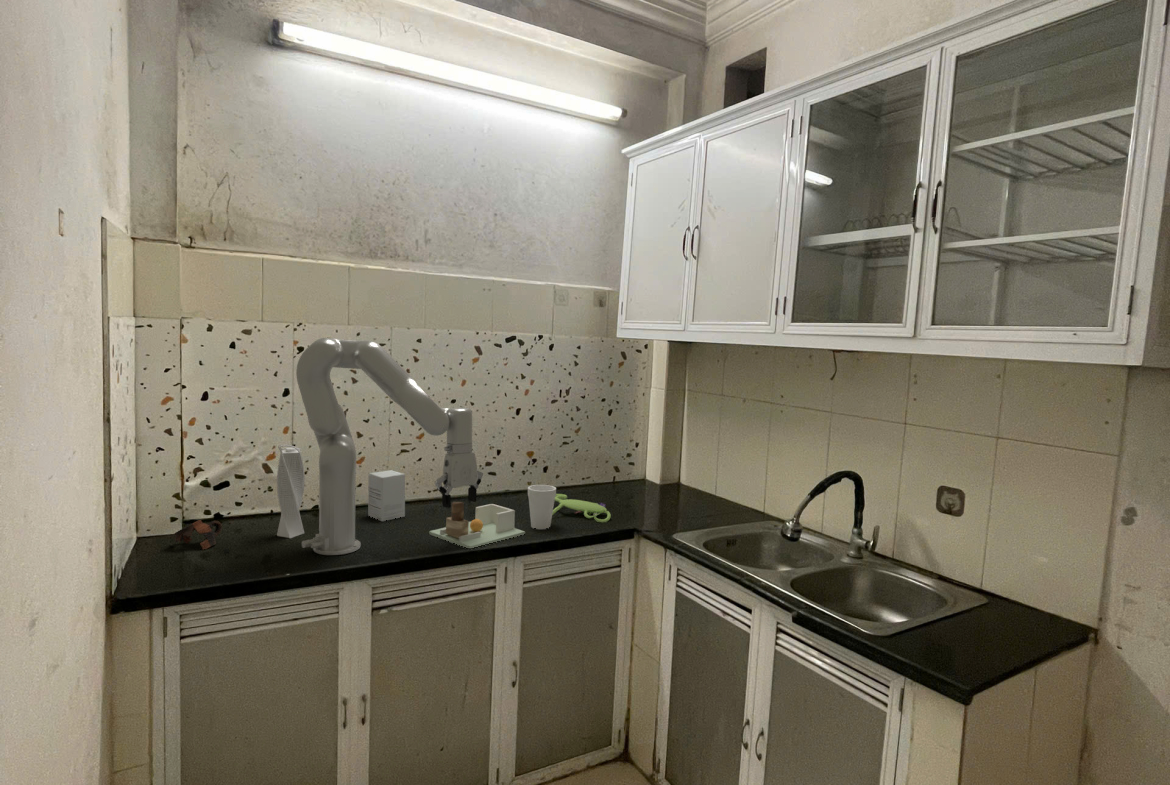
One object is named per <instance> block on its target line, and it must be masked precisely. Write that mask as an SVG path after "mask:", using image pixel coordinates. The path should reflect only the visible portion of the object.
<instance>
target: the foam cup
mask: <svg viewBox="0 0 1170 785" xmlns="http://www.w3.org/2000/svg"><path fill="white" fill-rule="evenodd" d="M556 494H557V487H555V486H553V485H548V484H534V485H530V486H527V496H528V505H529V516H530V527H531V528H532V529H534V528H536V529H535V530H547V529H546V528H548V529H549V527H550V528H551V524H552V519H553V515H552V513H553V510H554V505H555V502H556V501H555V496H556Z"/></svg>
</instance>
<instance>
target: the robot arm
mask: <svg viewBox="0 0 1170 785" xmlns="http://www.w3.org/2000/svg"><path fill="white" fill-rule="evenodd" d="M333 368H340V369H353V370H356V369H357V370H361V371H363V373H364V374H365V375H367V377H369V379H371V380H372V382H373V383H374V384H376V386H378V387H379V388H380V389H381V390H382V391H383V392H384V393H385V395H386V396H388V397H389V399H390V400H392V401H393V402H394V403H395V404H397V405H398V406H399V407H400V408H402V409H403V410H404V412H405V413H407V414H408V415H409V416H410V417H411V418H412V419H413V420H414V421H415V422H416V423H417V424H418V425H419V426H420V427H421V428H422V429H423V430H424V431H425V432H426V433H427V434H429V435H431V436H434V437H435V436H436V437H437V436H442V435H444V434H445V433H446V446H444V447H443V449H444V451H445V452H446V453H445V455H444V461H443V467H442V468H443V469H442V475H440V477H438V478H437V479H436V480H434V484H435V487H436V489H437V491H439V493H440V494H441V497H442V498H441V504H442V507H444V508H447V509H451V508H452V496H451V494H450V493H451V491H452V489H458V488H463V487H468V486H469V487H468V490H467V492H468V493H467V494H468V501H469V502H474V503H476V502H477V496H478V495H477V493H478V492H477V490H478V489H479V485H480V484H481V482H482V479H483V476H484V473H483V472H482V471H480V470H478V464H477V458H476V454H475V451H473V412H472V410H471V408H468V407H463V406H455V407H451V408H449V407H440V406H439V405H438V404H437V403H436V402H435V401H434V400H433V399H432V398H431V397H430V396H429V395H428V394H427V393H426V392H425V391H424V390H423V388H422V387H420V385H419V384H418V383H417V382H416V380H415V379H414V378H413V377H412V376H411V375H410V374H409V373H408V372H407V371H406V370H405V369H404V368H403V367H402V366H401V365H400V363H398V361H397V360H396V359H395V358H393V357H392V355H390V353H389V352H388V351H386V350H385V348H383V347H382V345H380V344H379V343H377V342H375V341H372V340H355V339H343V338H335V337H334V338H331V337H321V338H319V339H316V340H315V341H313V342H312V343H311V344H310V345H308V346H307V348H306V349H305V350H304V351H303V352H302V354H301V355H300V357H299V359H298V361H297V365H296V370H295V371H296V372H295V373H296V374H295V375H296V382H297V385H298V389H299V393H300V396H301V399H302V404H303V406H304V409H305V412H306V416H307V420H308V425H309V426H310V429H312V431H313V432H314V436H315V440H316V442H317V445H318V448H319V455H318V456H319V457H318V458H319V460H318V467H319V475H318V476H319V478H318V479H319V485H318V487H319V488H318V490H319V492H318V494H319V498H318V499H319V502H318V503H319V504H318V505H319V507H318V508H319V509H318V510H319V511H318V512H319V513H318V514H319V516H318V519H319V521H318V525H319V527H318V531H319V532H318V533H315V537H313V538H311V539H305V540H302V541H301V547H302V548H303V549H305V548H310V549H312V550H313V552H314V553H316V554H318V555H323V556H340V555H346V554H350V553H355V551H356V552H357V551H358V550H359V549H360V548H361V546H362V544H361V541H360V540H358V539H357V538H356V474H357V473H356V472H357V470H356V469H357V452H356V451H357V450H356V445H355V443H354V438H353V435H352V432H351V430H350V427H349V424H348V421H347V417H346V413H345V411H344V409H343V407H342V406H341V405H340V404H339V402H338V399H337V397H336V393H335V388H334V385H333V382H332V379H331V371H332V369H333Z"/></svg>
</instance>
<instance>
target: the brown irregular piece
mask: <svg viewBox="0 0 1170 785" xmlns="http://www.w3.org/2000/svg"><path fill="white" fill-rule="evenodd" d="M213 526H214V527H215V529H214V530H213ZM222 528H223V527H222V523H221V522H220V521H218V520H212V521H210V522H208V523H204V522H203V521H202V519H199V520H197V521H194V522H193V523H191V524H189V525H187V526H184V527H183V528H181V529H179V530H177V531H176V532H175V533H173V535H174V536H175V540H174V541H175V543H177V542H179V543H181V542H184V543H185V544H189V543H190V542H191V541H192V538H191V537H192V536H193V532H194V531H196V532H197V533H198V534H199V535H203V536H204V538H205V540H203V541H202V542H200V543H199V545H200V547H201V548H202V551H205V550H207V549H209V548H211V547H213V546H215V545H217V542H216V538H217V537H218V535H219V534H220V533H221V532H222ZM204 549H205V550H204Z"/></svg>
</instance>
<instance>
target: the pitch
mask: <svg viewBox="0 0 1170 785" xmlns="http://www.w3.org/2000/svg"><path fill="white" fill-rule="evenodd" d="M515 512H516V510H514V509H511V508H509V507H505V506H501V505H497V504H496V503H495V504H494V503H489V504H485V505H479V506H475V519H479V520H481V521H482V523H483V528H482V529H481V530H480V531H479V532H474V531H472V530H471V528H470V523H471V521H469V525H468V535H464V536H460V537H459V539H458V538H456V537H453V536H450V535H447V534H446V526H445V527H441V528H437V529H432V530H429V532H428V533H429V534H428V535H430V536H433V537H435V538H437V537H438V539H440V540H443V541H445V540H446V542H448V541H449V543H451V544H453V543H455V544H454V545H456V544H457V545H456V546H459V545H460V546H459V547H461V546H463V547H462V548H464V547H466V548H474V547H478V546H481V545H485V544H489V543H493V542H496V543H498V542H497V541H500V542H502V541H501V540H504V541H506V540H505V539H507V540H510V539H509V538H511V539H513V537H514V538H518V537H521V536H520V535H522V536H525V535H526V531H524V530H521V529H519V528H516V527H515V520H516V519H515V518H516V517H515V516H516V515H515ZM524 534H525V535H524ZM517 536H518V537H517ZM493 544H494V543H493ZM489 545H490V544H489ZM485 546H486V545H485ZM466 548H465V549H466ZM478 548H479V547H478Z"/></svg>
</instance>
